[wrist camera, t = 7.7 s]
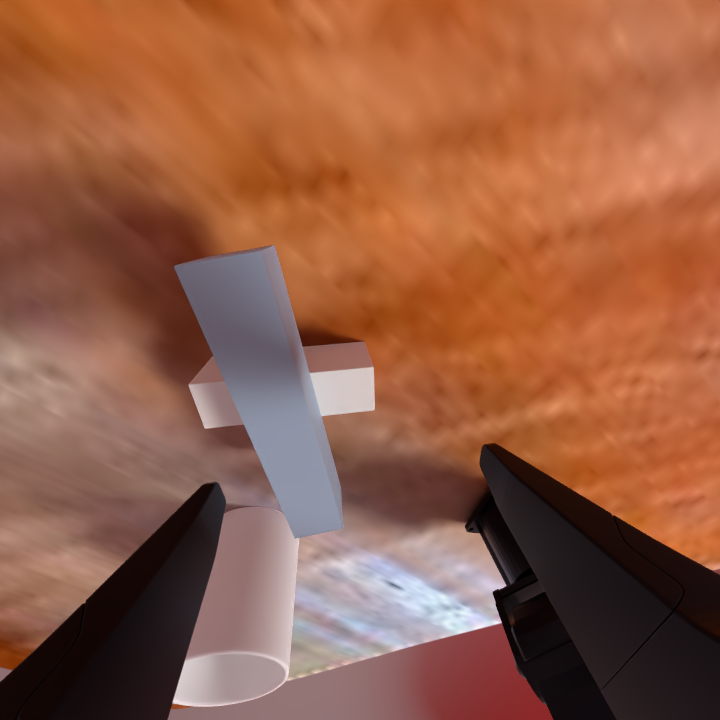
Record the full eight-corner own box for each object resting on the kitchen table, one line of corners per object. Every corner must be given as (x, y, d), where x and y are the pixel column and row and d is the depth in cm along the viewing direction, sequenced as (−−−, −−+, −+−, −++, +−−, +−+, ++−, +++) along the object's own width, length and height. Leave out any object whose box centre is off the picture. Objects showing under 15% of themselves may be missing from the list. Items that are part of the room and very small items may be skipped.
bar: (340, 486, 19) (343, 528, 17) (298, 495, 19) (294, 538, 17) (274, 245, 12) (260, 250, 9) (206, 256, 12) (173, 265, 9)
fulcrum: (367, 270, 18) (381, 285, 13) (371, 417, 23) (383, 462, 19) (191, 281, 17) (144, 301, 12) (238, 431, 22) (217, 483, 18)
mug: (243, 573, 31) (207, 728, 21) (195, 506, 25) (118, 675, 16) (317, 555, 31) (315, 702, 22) (286, 486, 26) (264, 640, 16)
